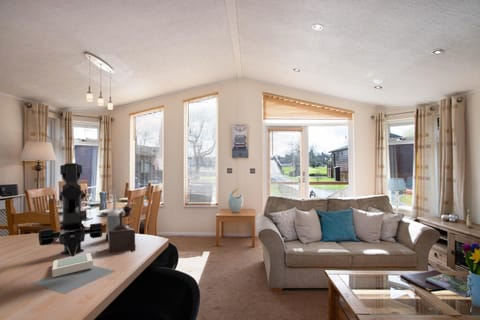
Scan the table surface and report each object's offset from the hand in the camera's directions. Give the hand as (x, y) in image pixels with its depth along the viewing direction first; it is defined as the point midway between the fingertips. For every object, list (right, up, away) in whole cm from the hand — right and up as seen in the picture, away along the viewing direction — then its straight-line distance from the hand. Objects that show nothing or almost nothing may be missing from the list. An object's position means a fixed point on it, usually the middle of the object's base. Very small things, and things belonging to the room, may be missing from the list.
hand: (72, 256), depth 90 cm
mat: (0, -8, +2) cm, 9 cm away
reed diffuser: (-8, -9, +49) cm, 50 cm away
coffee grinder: (+1, -8, +34) cm, 35 cm away
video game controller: (-32, -9, +45) cm, 55 cm away
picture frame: (-2, -6, +4) cm, 8 cm away
